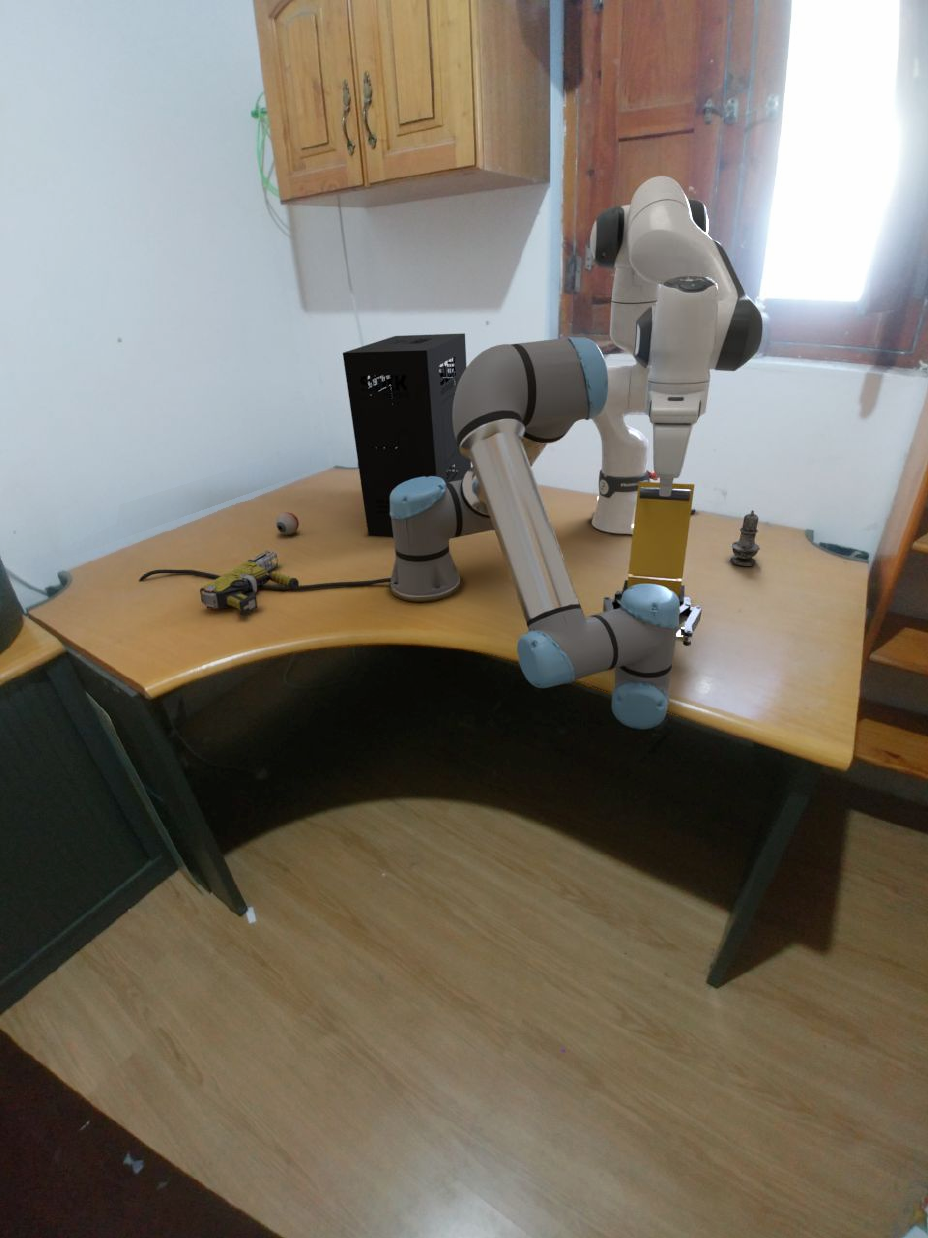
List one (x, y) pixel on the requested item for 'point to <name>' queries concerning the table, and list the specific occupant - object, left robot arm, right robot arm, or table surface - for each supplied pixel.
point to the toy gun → (243, 584)
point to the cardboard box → (404, 416)
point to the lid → (661, 530)
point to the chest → (656, 582)
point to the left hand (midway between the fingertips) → (653, 589)
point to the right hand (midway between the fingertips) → (665, 491)
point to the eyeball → (287, 523)
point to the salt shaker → (746, 542)
